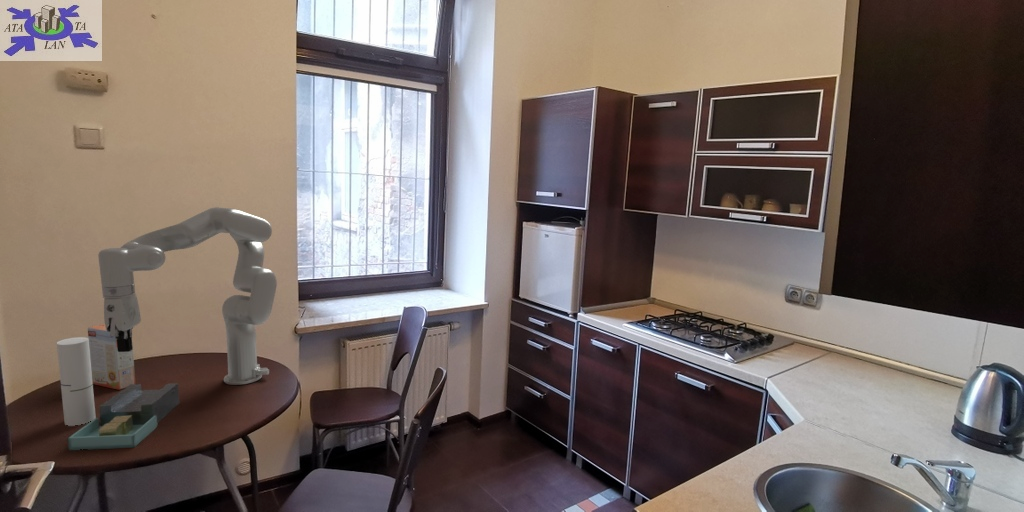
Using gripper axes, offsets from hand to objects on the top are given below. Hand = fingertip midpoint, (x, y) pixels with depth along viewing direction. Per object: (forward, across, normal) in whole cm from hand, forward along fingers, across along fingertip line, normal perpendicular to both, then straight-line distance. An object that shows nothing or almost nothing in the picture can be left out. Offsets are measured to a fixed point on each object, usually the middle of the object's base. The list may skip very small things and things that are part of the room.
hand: (125, 350), depth 151 cm
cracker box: (+23, +30, +20) cm, 43 cm away
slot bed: (+22, +4, -1) cm, 23 cm away
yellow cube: (+17, -13, -1) cm, 22 cm away
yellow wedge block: (+19, -11, -2) cm, 22 cm away
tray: (+22, -10, -1) cm, 25 cm away
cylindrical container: (+22, +2, +15) cm, 27 cm away
